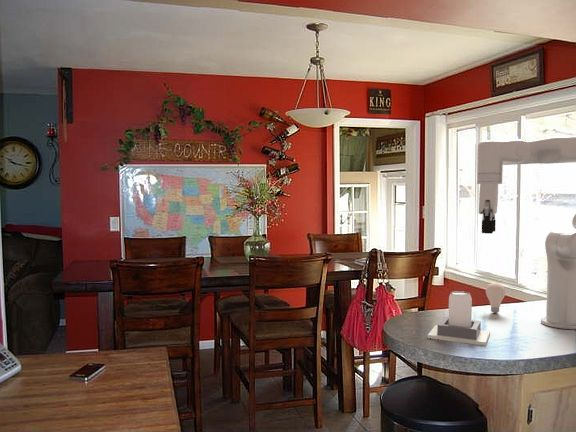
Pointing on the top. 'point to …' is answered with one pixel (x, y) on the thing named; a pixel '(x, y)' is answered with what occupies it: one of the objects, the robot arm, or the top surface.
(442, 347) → the top surface
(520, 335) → the top surface
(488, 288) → the light bulb
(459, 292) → the can
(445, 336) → the socket board
